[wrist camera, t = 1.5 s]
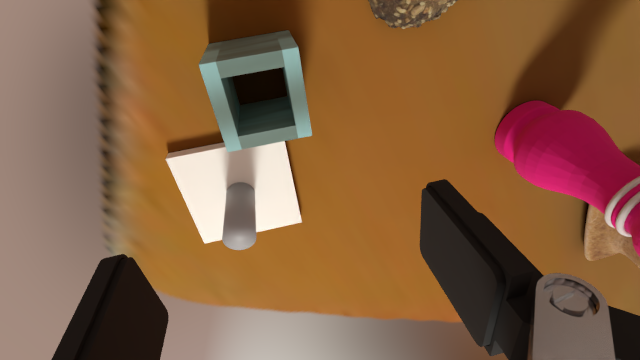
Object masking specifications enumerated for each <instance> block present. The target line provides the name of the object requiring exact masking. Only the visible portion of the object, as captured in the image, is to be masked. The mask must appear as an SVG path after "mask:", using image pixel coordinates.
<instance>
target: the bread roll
mask: <svg viewBox="0 0 640 360" xmlns="http://www.w3.org/2000/svg"><path fill="white" fill-rule="evenodd" d="M368 1H369V2H370V5H371V9H372V12H373V14H374V15H375V17H376V19H377V18H381V19H383V20H385V22H386V23H387V24H388V26H389V27H392V28H396V27H401V28H402V29H405V28H410V27H420V26H421V23H424V22H426V21H430V20H435V19H438V18H439V17H440V16H441V13H442V12H446V11H447V10H448V7H449V6H451V5H453V4H454V3H455V2H456V1H457V0H368Z"/></svg>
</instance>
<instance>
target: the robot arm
mask: <svg viewBox="0 0 640 360" xmlns="http://www.w3.org/2000/svg"><path fill="white" fill-rule="evenodd" d="M420 251H421V254H422V256H423V258H424V260H425V261H426V263H427V264H428V266H429V268H430V269H431V271H432V273H433V274H434V276H435V277H436V279H437V281H438V282H439V284H440V285H441V287H442V289H443V290H444V292H445V294H446V295H447V297H448V298H449V300H450V302H451V303H452V305H453V307H454V308H455V310H456V311H457V313H458V315H459V316H460V318H461V319H462V321H463V323H464V324H465V326H466V328H467V329H468V331H469V332H470V334H471V336H472V337H473V339H474V340H475V342H476V343H477V344H478V345H479V346H480V347H482V346H484V347H485V348H486V350H487V352H488V353H489V355H490V356H494V355H497V354H500V353H504V354H505V355H506V357H507V358H508V359H509V360H640V316H638V315H635V314H632V313H629V312H626V311H623V310H620V309H617V308H614V307H611V306H608V305H607V302H606V299H605V298H604V297H603V295H602V294H601V293H600V292H599V291H598V290H597V289H596V288H595V287H594V286H592V285H591V284H589V283H588V282H586V281H584V280H582V279H580V278H577V277H575V276H572V275H568V274H561V273H554V274H548V275H545V276H543V275H542V274H541V273H540V272H539V271H538V269H537V268H536V267H535V266H534V265H533V264H532V263H531V262H530V261H529V260H528V259H527V258H526V257H525V256H524V255H523V254H522V253H521V252H520V251H519V250H518V249H517V248H516V247H515V246H514V245H513V244H512V243H511V242H510V241H509V240H508V239H507V238H506V237H505V236H504V235H503V234H502V232H501V231H500V230H499V229H498V228H497V227H496V226H495V225H494V224H493V223H492V222H491V221H490V220H489V219H488V218H487V217H486V216H485V215H483V214H482V213H479V212H477V211H476V210H475V209H474V208H473V207H472V206H471V205H470V204H469V203H468V202H467V200H466V199H465V198H464V197H463V196H462V195H461V194H460V193H459V192H458V191H457V190H456V189H455V188H454V187H453V186H452V185H451V184H450V183H449V182H448V181H447V180H445V179H443V180H439V181H435V182H430V183H428V184H427V186H426V188H424V189H423V190H422V202H421V229H420ZM167 324H168V312H167V309H166V308H165V306H164V305H163V303H162V302H161V300H160V299H159V297H158V295H157V294H156V292H155V291H154V289H153V288H152V286H151V285H150V283H149V282H148V280H147V279H146V277H145V275H144V274H143V272H142V271H141V269H140V268H139V266H138V265H137V263H136V262H135V260H134V259H133V258H132V257H129V258H128V257H127V256H126V255H124V254H121V255H117V256H113V257H109V258H104V259H102V260H101V261H100V263H99V265H98V267H97V269H96V271H95V273H94V275H93V277H92V279H91V281H90V283H89V285H88V287H87V289H86V291H85V293H84V295H83V297H82V299H81V301H80V303H79V305H78V307H77V309H76V311H75V313H74V315H73V317H72V319H71V321H70V323H69V325H68V328H67V330H66V332H65V333H64V335H63V337H62V339H61V342H60V344H59V346H58V348H57V350H56V352H55V354H54V356H53V358H52V360H160V357H161V352H162V347H163V343H164V337H165V334H166V328H167Z"/></svg>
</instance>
